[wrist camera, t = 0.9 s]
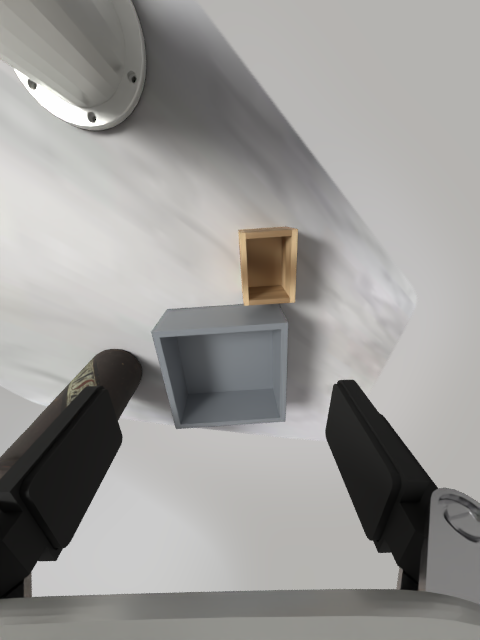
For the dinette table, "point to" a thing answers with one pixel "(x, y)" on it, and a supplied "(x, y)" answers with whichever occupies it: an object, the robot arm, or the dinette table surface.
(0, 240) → the dinette table surface
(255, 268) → the wooden crate
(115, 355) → the container
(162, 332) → the grey crate
